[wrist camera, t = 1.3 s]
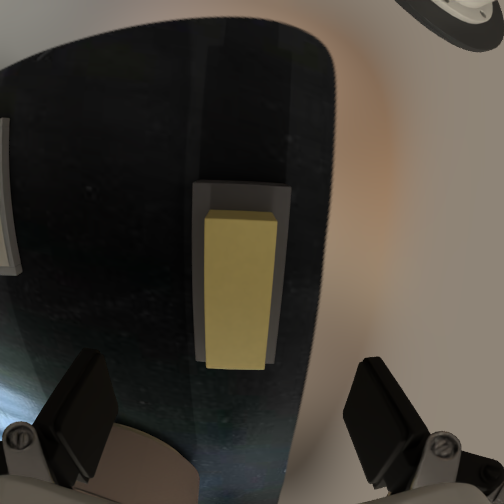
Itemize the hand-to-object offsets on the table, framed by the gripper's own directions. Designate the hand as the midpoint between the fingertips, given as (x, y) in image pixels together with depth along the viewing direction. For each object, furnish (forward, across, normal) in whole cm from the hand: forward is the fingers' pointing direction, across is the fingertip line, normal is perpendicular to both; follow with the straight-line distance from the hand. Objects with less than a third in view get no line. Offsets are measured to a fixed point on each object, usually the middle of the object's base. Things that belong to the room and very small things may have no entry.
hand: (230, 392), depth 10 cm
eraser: (+11, 0, -1) cm, 11 cm away
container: (+12, +12, +25) cm, 30 cm away
